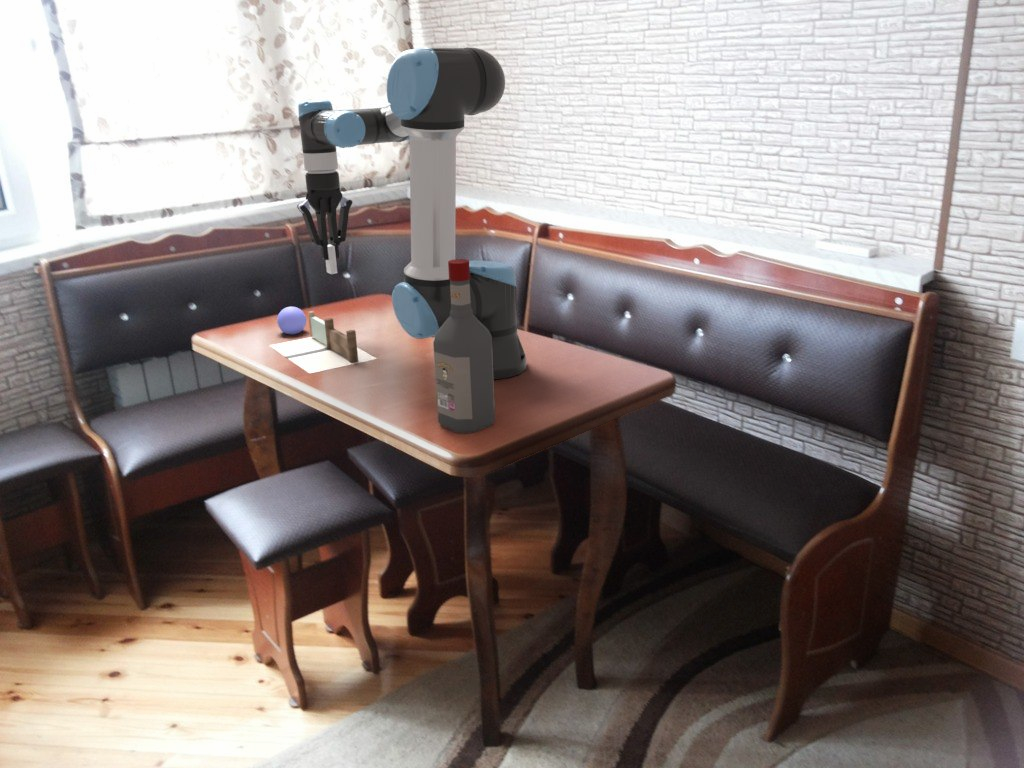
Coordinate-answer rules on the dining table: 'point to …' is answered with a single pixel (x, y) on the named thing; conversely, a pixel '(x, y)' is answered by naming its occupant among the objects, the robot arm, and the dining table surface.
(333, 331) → the fixed fence section
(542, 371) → the dining table surface
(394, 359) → the dining table surface
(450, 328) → the liquor
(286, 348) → the card
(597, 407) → the dining table surface
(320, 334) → the folding fence panel
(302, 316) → the sphere
